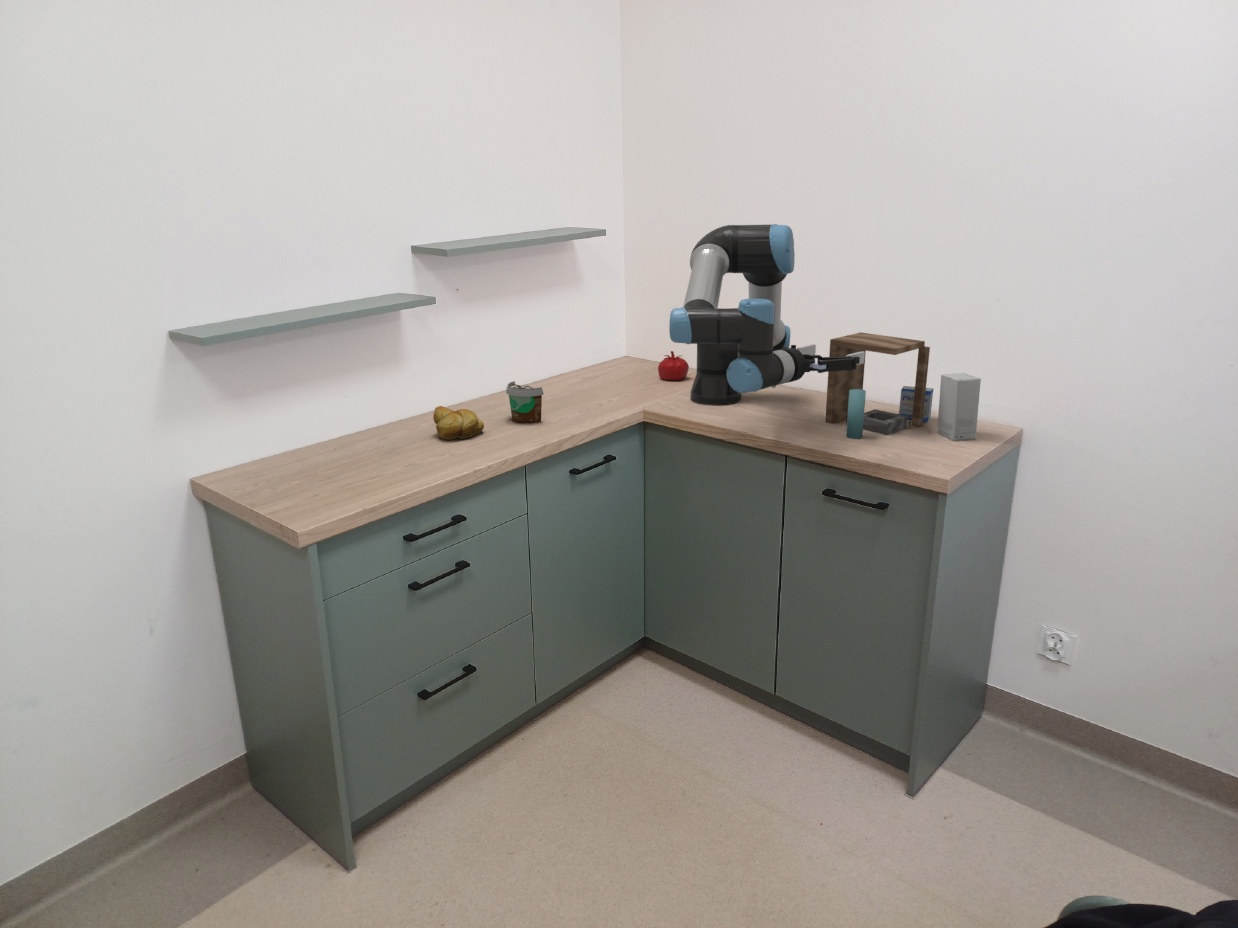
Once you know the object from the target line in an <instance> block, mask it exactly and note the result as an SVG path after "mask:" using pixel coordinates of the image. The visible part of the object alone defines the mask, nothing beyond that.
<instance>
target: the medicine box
mask: <svg viewBox="0 0 1238 928" xmlns="http://www.w3.org/2000/svg"><path fill="white" fill-rule="evenodd" d="M914 393H915V386H909V385H903V386H902V388H901V389H900V399H899V400H900V401H899V409H898V414H900V415H905V416H908V422H912V414H913V403H914ZM933 395H934V388H931V387H926V393H925V403H924V413H923V423H929V422H930V420H931V415H932V407H933V398H934V397H933Z"/></svg>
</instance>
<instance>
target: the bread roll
mask: <svg viewBox="0 0 1238 928" xmlns="http://www.w3.org/2000/svg"><path fill="white" fill-rule="evenodd" d="M432 417H433V418H432V419H433V422H434V423H435V424H436V425H435V428H436V433H437V435H438V436H439V437H440V438H441V439H443V440H448V441H450V440H455V439H457V438H459V439H466V438H469V437H473V436H474V435H478V434H480V433H481V432H482V431H483V430H484V428H485V423H484V422H483V421H482V419H480V418H478V416H477V414H476V413H475V412H474V411H472V410H470V409H466V408H459V409H457V410H455V411H454V410H453V409H451V408H449V407H445V406H442V405H438V406H436V407H435V408H434V411H433V416H432Z"/></svg>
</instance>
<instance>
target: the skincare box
mask: <svg viewBox="0 0 1238 928" xmlns="http://www.w3.org/2000/svg"><path fill="white" fill-rule="evenodd" d="M981 379H982V378H980V377H976V376H973V375H971V374H968V373H965V372H955V373H944V374H940V385H939V386H940V387H939V389H940V390H939V400H938V401H939V403H938V415H937V429H936V432H937V434H938V435H941V436H943V437H945V438H947V439H949V440H951V441H953V442H955V441H956V442H957V441H967V440H968V441H971V440H975V439H976V438H977V437H976V436H977V427H978V414H979V404H980V391H981V382H982V381H981Z"/></svg>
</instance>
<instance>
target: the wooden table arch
mask: <svg viewBox="0 0 1238 928" xmlns="http://www.w3.org/2000/svg"><path fill="white" fill-rule="evenodd" d="M829 341H830V342H829V352H828V353H829V356H828V357H846V355H849V354H853V353H857V352H862V351H863V352H865V355H864V363H863V364H859V365H856V370H851V371H848V370H842V371H829V372H828V373H827V374H828V375H827V386H826V387H827V388H826V401H825V403H826V404H825V420H824V421H825V423H827V424H830V425H832V424H835V423H837V422H841V421H843V420H847V417H848V403H849V390H851V389H862V390H864V379H865V364H866V354H867V353H866V352H872V353H873V352H874V353H879V354H887V355H890V356H891V355H893V356H897V355H900V354H905V353H907V352H910V351H916V350H918V351H917V361H916V372H915V374H916V375H915V384H914V387H915V393H914V403H913V414H912V421H911V427H916V428H920V427H922V426H923V423H924V422H923V413H924V403H925V393H926V388H927V382H928V381H927V380H928V373H929V372H928V370H929V360H930V353H931V351H930V349H931V346H926V345H925V344H926V341H925V340H918V339H912V338H910V339H909V338H905V337H904V338H903V337H898V336H897V337H896V336H890V335H883V334H875V333H869V332H857V333H852V334H847V335H844V336H839V337H834V338H831V339H830V340H829ZM908 425H909V421H908V416H905V415H900V414H899V413H894V412H890V411H885V410H881V409H876V408H875V409H874V408H873V409H872V410H868V411H864V422H863V431H867V432H872V433H876V434H880V435H884V436H888V435H890V434H893V433H896V432H898V431H901V430H904V429H906V428H908Z"/></svg>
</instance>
